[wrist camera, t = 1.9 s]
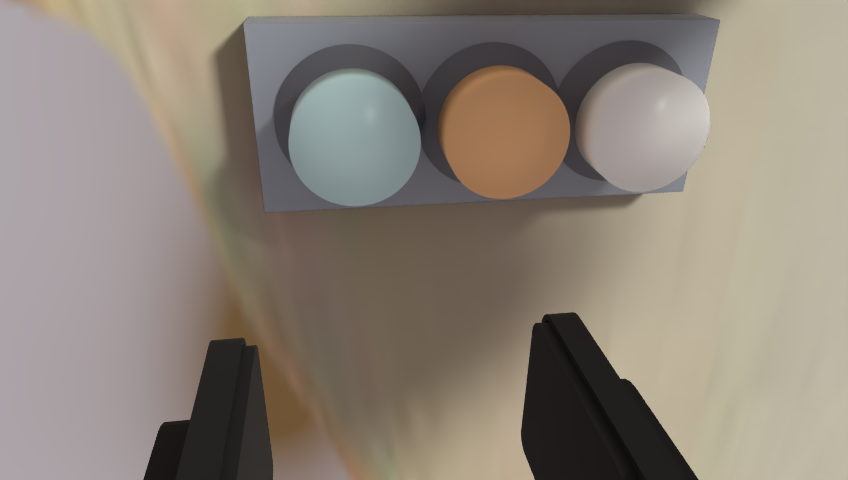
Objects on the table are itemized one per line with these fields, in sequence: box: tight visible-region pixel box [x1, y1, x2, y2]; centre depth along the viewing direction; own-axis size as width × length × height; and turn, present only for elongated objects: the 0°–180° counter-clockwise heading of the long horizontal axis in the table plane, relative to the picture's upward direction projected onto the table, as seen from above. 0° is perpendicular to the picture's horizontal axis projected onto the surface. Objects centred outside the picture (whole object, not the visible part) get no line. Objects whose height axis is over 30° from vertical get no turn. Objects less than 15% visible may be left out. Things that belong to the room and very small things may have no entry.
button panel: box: [243, 14, 720, 213], centre depth 28 cm, size 20×8×2 cm, turn 89°
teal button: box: [288, 68, 421, 206], centre depth 25 cm, size 5×5×2 cm
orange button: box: [438, 65, 570, 199], centre depth 25 cm, size 5×5×2 cm
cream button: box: [575, 63, 710, 192], centre depth 26 cm, size 5×5×2 cm
